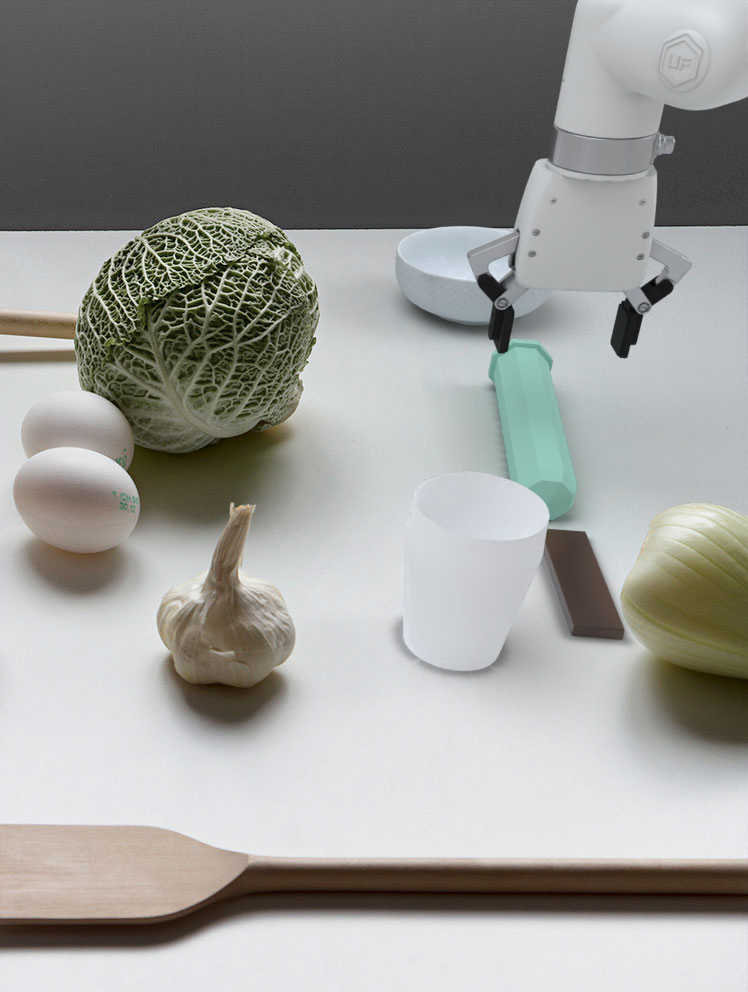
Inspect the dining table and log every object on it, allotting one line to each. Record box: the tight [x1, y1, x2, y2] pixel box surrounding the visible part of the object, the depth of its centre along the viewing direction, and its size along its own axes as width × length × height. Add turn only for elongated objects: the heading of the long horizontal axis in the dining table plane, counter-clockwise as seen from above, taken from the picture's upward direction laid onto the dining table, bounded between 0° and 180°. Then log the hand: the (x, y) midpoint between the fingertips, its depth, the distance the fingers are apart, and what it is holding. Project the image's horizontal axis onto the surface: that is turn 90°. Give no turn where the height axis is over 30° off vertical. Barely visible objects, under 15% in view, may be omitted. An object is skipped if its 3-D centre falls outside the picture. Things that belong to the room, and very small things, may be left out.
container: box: [487, 338, 579, 521], centre depth 115 cm, size 6×6×25 cm
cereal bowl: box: [394, 225, 553, 326], centre depth 141 cm, size 17×17×7 cm
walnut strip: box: [543, 528, 626, 641], centre depth 99 cm, size 4×13×1 cm, turn 171°
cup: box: [402, 471, 550, 672], centre depth 90 cm, size 9×9×12 cm
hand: (558, 349), depth 111 cm, fingers open, 9 cm apart
